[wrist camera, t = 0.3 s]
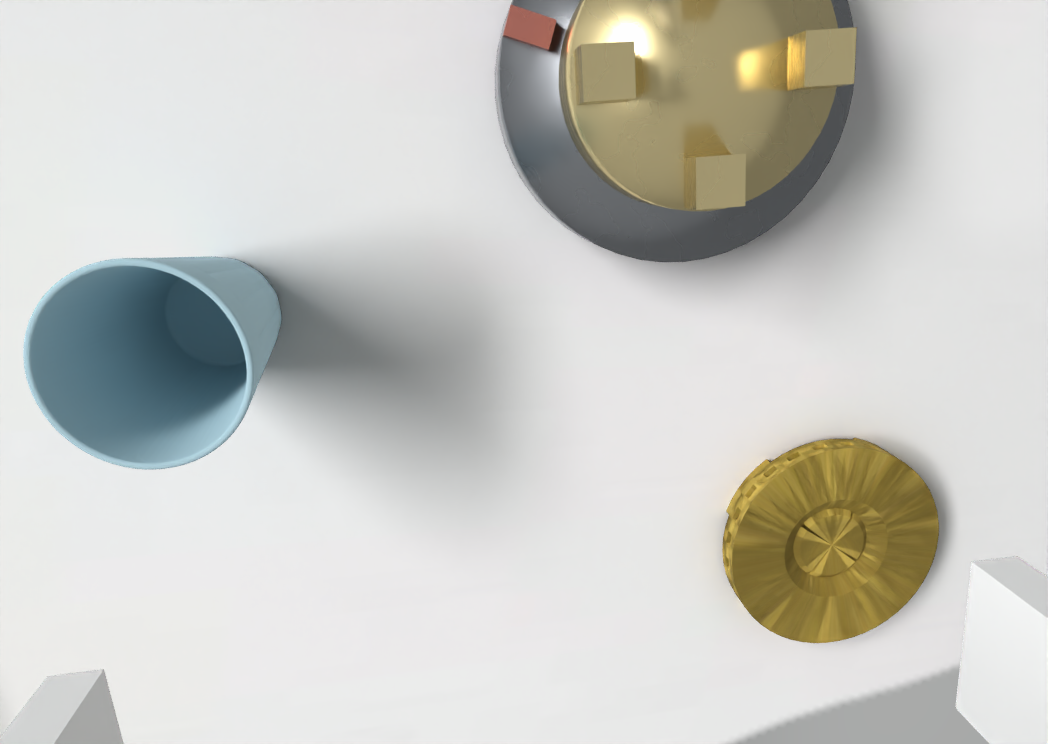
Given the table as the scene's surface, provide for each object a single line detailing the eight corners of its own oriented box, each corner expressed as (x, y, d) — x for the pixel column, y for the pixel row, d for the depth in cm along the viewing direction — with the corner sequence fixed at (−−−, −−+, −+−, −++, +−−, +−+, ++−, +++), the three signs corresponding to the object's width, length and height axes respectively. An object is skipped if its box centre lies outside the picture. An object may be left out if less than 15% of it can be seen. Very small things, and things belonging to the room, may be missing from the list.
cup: (277, 215, 35) (209, 235, 25) (325, 366, 37) (282, 441, 27) (118, 253, 35) (-15, 289, 25) (176, 403, 37) (77, 492, 27)
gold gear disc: (732, 641, 45) (746, 664, 42) (703, 462, 41) (717, 478, 39) (920, 592, 45) (944, 613, 43) (908, 412, 42) (932, 425, 40)
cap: (480, -96, 32) (484, -125, 29) (828, -111, 34) (870, -141, 30) (508, 268, 37) (514, 277, 34) (816, 241, 38) (851, 248, 35)
